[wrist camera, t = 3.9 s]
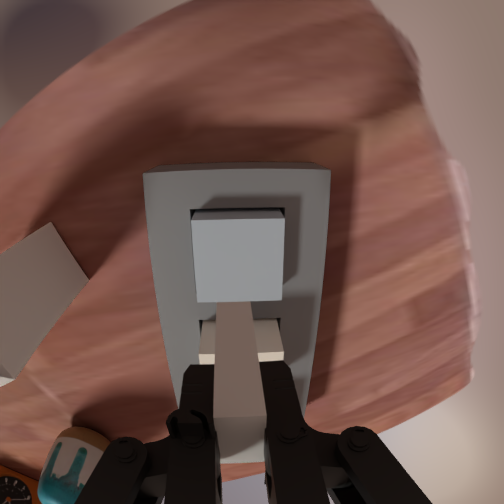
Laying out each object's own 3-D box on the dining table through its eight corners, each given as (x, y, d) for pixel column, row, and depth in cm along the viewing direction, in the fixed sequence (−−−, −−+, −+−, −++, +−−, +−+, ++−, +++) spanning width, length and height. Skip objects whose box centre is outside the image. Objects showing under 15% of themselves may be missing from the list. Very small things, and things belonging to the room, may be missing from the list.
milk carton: (14, 253, 27) (-102, 354, 9) (52, 220, 26) (-88, 324, 8) (50, 306, 29) (-41, 430, 12) (90, 279, 29) (-11, 422, 11)
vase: (133, 457, 40) (115, 557, 22) (80, 451, 40) (53, 539, 22) (108, 418, 36) (75, 534, 19) (50, 411, 36) (9, 509, 18)
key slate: (203, 268, 28) (197, 302, 22) (199, 201, 26) (190, 220, 20) (272, 267, 28) (281, 300, 23) (273, 199, 26) (284, 218, 20)
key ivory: (209, 363, 29) (206, 408, 24) (204, 311, 27) (198, 354, 21) (272, 361, 29) (279, 405, 24) (274, 309, 27) (283, 351, 22)
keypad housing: (191, 415, 36) (188, 445, 32) (158, 165, 25) (142, 173, 21) (293, 411, 37) (299, 441, 32) (313, 162, 26) (330, 170, 21)
